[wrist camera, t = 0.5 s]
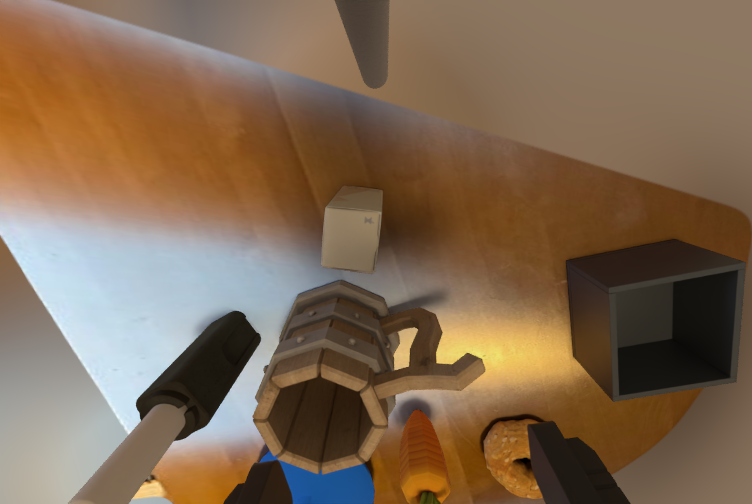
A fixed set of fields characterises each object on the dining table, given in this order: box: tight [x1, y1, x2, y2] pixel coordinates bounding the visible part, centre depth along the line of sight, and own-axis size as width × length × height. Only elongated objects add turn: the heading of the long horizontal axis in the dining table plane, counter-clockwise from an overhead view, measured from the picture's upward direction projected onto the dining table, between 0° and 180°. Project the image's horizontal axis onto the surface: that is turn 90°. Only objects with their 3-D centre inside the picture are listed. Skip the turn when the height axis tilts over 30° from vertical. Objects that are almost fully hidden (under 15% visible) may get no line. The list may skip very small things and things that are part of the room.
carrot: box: [400, 409, 451, 504], centre depth 37 cm, size 5×5×15 cm
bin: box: [566, 239, 746, 402], centre depth 35 cm, size 12×11×8 cm
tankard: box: [253, 280, 485, 475], centre depth 34 cm, size 20×13×15 cm, turn 111°
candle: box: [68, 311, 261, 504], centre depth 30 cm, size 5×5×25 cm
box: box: [321, 186, 383, 274], centre depth 32 cm, size 5×4×11 cm
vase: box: [260, 451, 375, 504], centre depth 44 cm, size 16×16×7 cm
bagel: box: [483, 419, 543, 499], centre depth 43 cm, size 10×11×5 cm
